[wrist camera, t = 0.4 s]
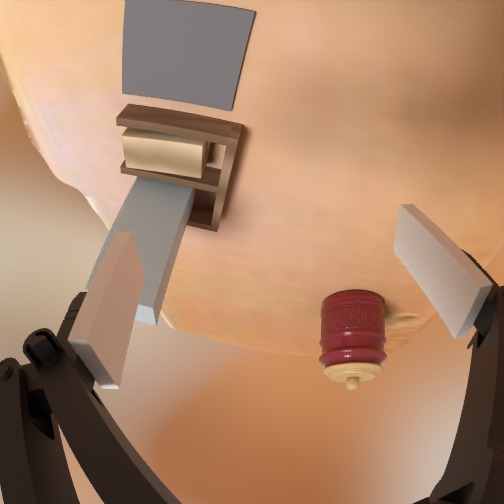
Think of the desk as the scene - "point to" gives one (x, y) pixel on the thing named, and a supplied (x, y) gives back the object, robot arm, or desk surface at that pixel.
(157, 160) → the offcut top
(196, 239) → the desk surface
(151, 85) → the mat
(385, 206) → the desk surface
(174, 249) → the pale blue thick slab
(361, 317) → the canister
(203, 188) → the rack
